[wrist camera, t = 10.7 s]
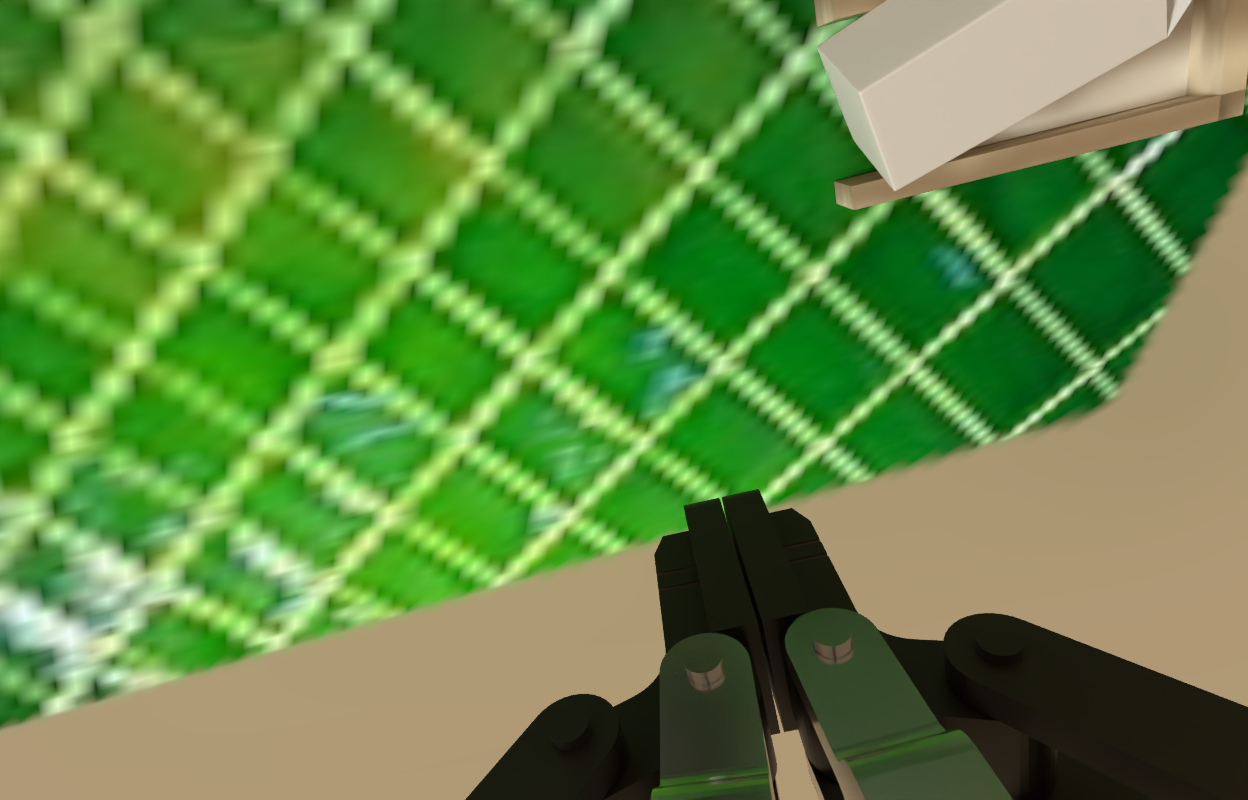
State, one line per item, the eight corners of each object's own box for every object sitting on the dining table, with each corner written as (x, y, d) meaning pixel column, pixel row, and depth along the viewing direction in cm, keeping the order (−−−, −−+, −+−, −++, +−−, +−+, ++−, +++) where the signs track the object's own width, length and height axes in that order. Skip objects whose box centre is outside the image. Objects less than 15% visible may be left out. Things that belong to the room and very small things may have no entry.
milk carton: (850, 141, 45) (1159, -46, 39) (892, 194, 40) (1253, -10, 34) (812, 47, 40) (1157, -181, 34) (855, 94, 35) (1265, -162, 29)
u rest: (814, 0, 42) (831, -9, 39) (1217, -107, 41) (1270, -126, 37) (836, 203, 47) (853, 209, 44) (1197, 114, 45) (1242, 114, 42)
